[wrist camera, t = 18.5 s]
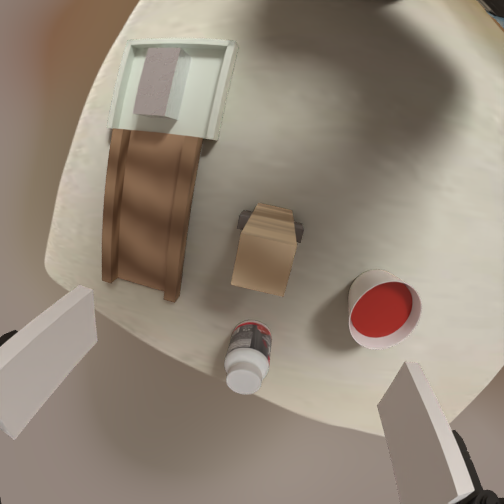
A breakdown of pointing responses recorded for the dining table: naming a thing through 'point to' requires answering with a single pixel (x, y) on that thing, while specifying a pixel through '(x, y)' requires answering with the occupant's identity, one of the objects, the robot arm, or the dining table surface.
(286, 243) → the tapered wooden board
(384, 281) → the white round cup
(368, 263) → the dining table surface
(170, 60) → the grey cube
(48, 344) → the robot arm
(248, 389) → the pill bottle
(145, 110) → the pinkish grey cube
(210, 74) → the tray
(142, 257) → the slot board
